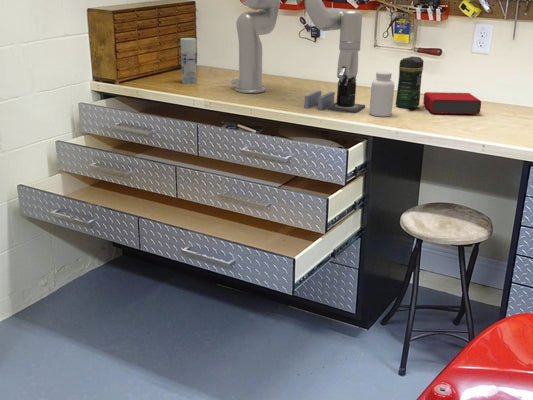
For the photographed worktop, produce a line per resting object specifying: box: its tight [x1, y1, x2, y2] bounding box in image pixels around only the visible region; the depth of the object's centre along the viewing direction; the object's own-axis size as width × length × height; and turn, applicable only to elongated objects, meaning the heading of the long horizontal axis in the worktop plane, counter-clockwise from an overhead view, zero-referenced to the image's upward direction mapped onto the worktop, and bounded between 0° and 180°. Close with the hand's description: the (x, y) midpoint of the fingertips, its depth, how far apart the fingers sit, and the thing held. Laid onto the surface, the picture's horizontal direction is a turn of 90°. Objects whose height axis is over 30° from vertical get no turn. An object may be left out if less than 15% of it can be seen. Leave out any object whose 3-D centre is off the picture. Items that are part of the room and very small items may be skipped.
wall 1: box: [303, 89, 322, 109], centre depth 241 cm, size 2×13×4 cm, turn 153°
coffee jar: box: [395, 56, 424, 109], centre depth 239 cm, size 10×8×19 cm
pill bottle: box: [369, 71, 395, 118], centre depth 226 cm, size 8×8×15 cm
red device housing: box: [422, 91, 482, 115], centre depth 239 cm, size 18×14×5 cm
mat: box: [326, 102, 366, 114], centre depth 236 cm, size 11×11×1 cm
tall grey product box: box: [180, 37, 198, 85], centre depth 273 cm, size 6×6×20 cm
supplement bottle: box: [336, 76, 357, 107], centre depth 234 cm, size 7×7×12 cm
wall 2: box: [317, 91, 336, 111], centre depth 239 cm, size 2×13×4 cm, turn 153°
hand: (347, 94), depth 235 cm, fingers open, 8 cm apart
